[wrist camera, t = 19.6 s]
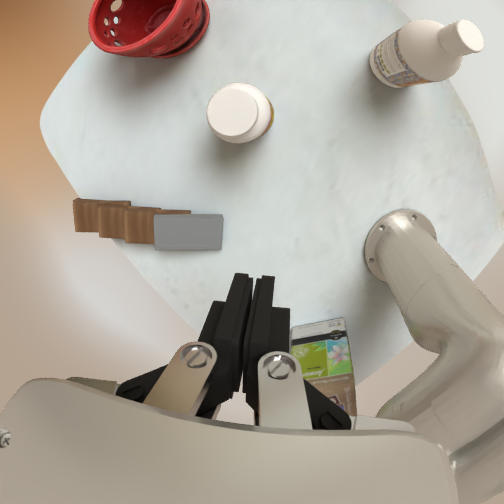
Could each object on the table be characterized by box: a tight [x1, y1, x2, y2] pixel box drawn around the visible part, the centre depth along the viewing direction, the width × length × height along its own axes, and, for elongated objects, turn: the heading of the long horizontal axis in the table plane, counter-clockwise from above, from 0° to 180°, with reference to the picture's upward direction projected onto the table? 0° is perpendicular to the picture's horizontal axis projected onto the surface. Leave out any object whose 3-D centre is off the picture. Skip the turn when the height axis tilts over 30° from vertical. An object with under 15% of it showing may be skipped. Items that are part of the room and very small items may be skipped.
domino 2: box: [98, 205, 161, 239], centre depth 42 cm, size 2×5×10 cm
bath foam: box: [370, 20, 484, 88], centre depth 20 cm, size 7×7×20 cm
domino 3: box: [124, 209, 191, 244], centre depth 41 cm, size 2×5×10 cm
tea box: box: [291, 318, 357, 417], centre depth 45 cm, size 15×10×15 cm, turn 18°
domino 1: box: [73, 201, 131, 232], centre depth 42 cm, size 2×5×10 cm
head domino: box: [154, 214, 223, 250], centre depth 41 cm, size 2×5×10 cm
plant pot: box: [88, 0, 210, 58], centre depth 24 cm, size 13×13×12 cm
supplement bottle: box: [207, 83, 274, 143], centre depth 29 cm, size 7×7×13 cm
